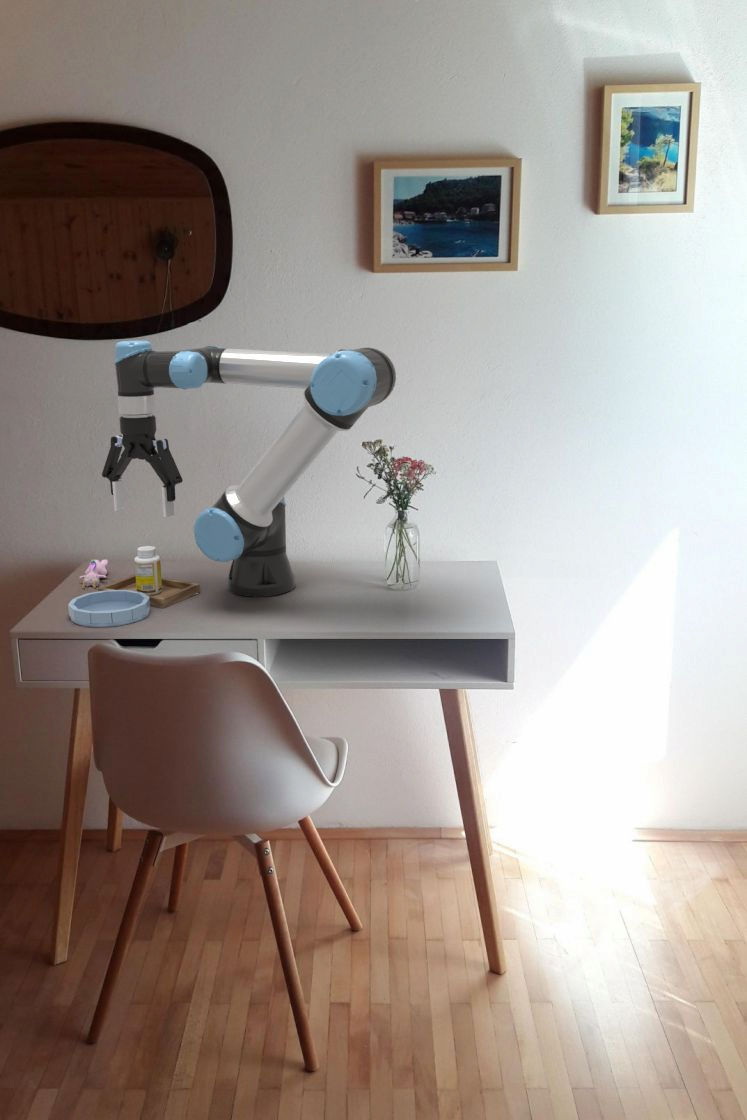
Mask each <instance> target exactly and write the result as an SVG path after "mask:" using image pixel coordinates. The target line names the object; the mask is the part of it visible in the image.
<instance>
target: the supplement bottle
mask: <svg viewBox="0 0 747 1120" xmlns="http://www.w3.org/2000/svg"><path fill="white" fill-rule="evenodd" d="M136 549H137V553H136V554H137V556H135V557H134V559H133V560H134V572H135V573H134V575H135V574H136V587H137V592H142V593H144V594H145V595H156V594H159V593H160V592H161V591H162V579H161V578H162V567H161V565H162V564H161V557H160V556H159V554H157V548H156V547H155V546H153V545H143V546H140V547H137V548H136Z"/></svg>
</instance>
